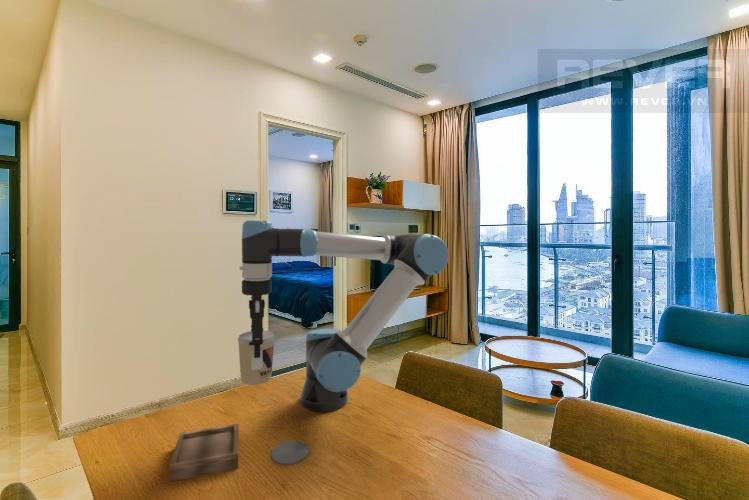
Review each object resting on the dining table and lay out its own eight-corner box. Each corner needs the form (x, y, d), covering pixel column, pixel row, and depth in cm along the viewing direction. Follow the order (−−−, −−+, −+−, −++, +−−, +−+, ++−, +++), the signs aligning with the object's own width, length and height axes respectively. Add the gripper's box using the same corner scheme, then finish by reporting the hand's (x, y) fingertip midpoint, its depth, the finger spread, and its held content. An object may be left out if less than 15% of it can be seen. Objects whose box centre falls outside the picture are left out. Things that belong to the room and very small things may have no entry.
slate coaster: (305, 440, 97) (305, 437, 97) (311, 460, 88) (311, 457, 88) (269, 446, 94) (269, 444, 94) (272, 468, 85) (272, 465, 85)
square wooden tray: (238, 436, 98) (238, 423, 98) (238, 468, 85) (237, 453, 85) (180, 446, 94) (179, 433, 93) (169, 482, 80) (169, 466, 80)
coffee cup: (263, 388, 93) (263, 341, 92) (230, 384, 95) (230, 338, 94) (280, 374, 102) (280, 331, 102) (250, 370, 104) (250, 329, 104)
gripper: (242, 274, 106) (242, 350, 108) (241, 285, 86) (240, 379, 87) (269, 273, 109) (268, 348, 110) (274, 284, 88) (273, 376, 89)
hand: (256, 362), depth 98 cm, fingers closed on coffee cup, 9 cm apart
